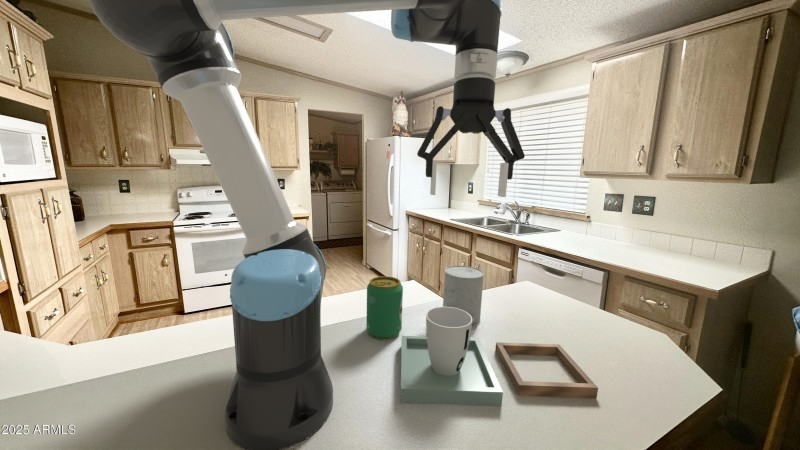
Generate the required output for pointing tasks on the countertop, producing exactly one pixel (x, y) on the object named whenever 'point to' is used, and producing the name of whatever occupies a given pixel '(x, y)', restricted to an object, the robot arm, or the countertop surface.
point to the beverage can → (384, 307)
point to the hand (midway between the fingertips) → (467, 195)
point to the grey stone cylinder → (464, 290)
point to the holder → (545, 389)
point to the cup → (447, 338)
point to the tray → (447, 377)
